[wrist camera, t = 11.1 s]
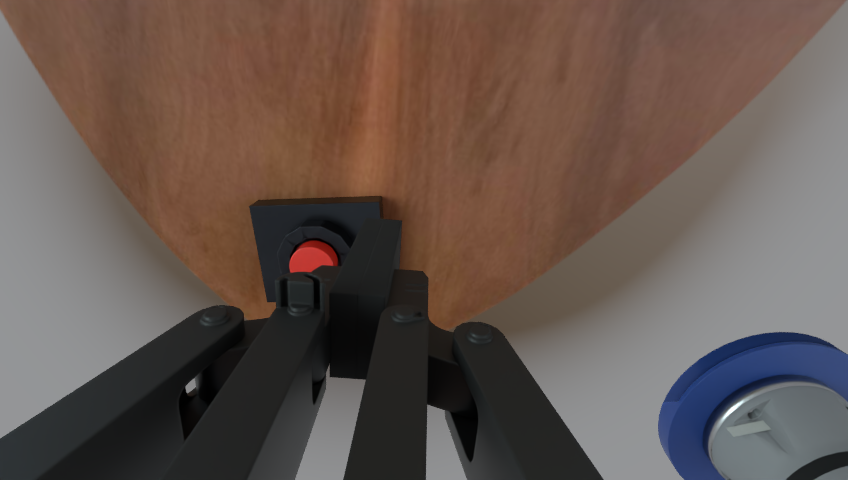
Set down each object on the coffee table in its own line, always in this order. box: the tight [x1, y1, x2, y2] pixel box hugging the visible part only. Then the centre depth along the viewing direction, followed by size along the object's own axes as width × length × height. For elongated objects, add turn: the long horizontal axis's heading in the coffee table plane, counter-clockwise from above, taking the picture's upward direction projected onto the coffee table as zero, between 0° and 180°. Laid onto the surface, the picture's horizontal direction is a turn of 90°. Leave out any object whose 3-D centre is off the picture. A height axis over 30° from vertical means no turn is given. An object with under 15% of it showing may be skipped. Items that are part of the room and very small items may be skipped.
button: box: [289, 240, 338, 273], centre depth 38 cm, size 4×4×2 cm
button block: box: [249, 196, 383, 302], centre depth 41 cm, size 12×10×4 cm
